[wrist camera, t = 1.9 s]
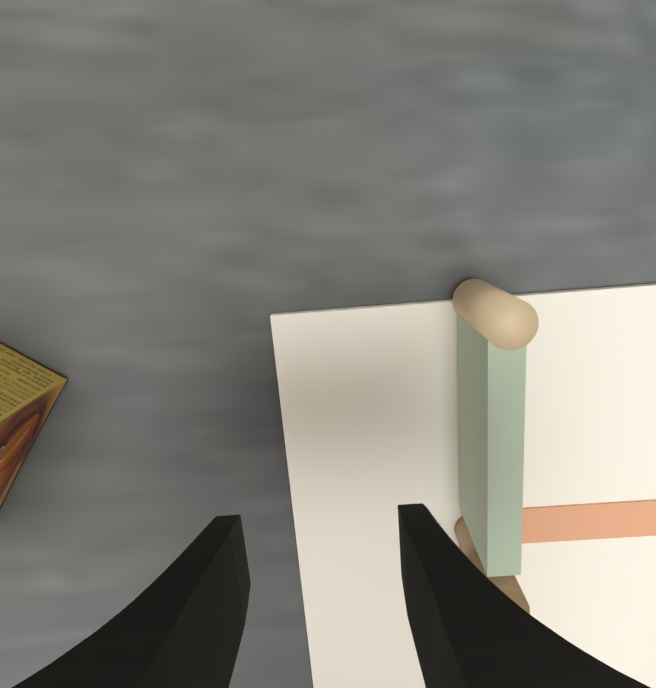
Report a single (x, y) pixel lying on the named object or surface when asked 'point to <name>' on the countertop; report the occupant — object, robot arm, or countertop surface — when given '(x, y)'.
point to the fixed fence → (502, 582)
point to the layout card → (444, 472)
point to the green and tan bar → (492, 419)
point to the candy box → (22, 409)
